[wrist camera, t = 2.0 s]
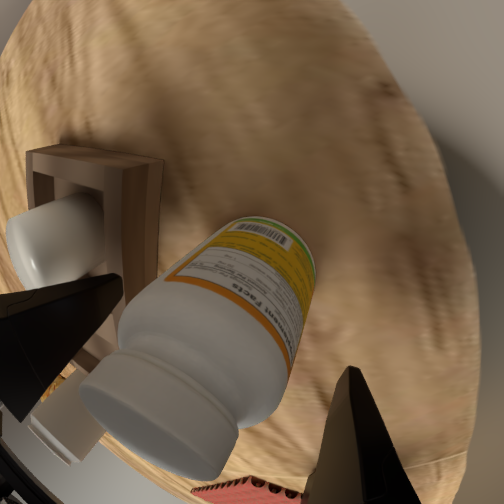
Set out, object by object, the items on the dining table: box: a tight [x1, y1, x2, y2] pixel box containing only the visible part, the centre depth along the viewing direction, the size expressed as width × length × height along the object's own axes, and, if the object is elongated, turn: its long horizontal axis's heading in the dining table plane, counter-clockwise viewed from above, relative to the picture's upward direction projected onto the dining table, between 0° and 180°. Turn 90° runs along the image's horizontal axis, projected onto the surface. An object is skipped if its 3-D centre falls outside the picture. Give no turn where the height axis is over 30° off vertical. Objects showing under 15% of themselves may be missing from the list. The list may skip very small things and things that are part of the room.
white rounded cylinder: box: [6, 192, 106, 290], centre depth 13 cm, size 5×5×5 cm
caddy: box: [26, 144, 164, 376], centre depth 17 cm, size 10×20×3 cm, turn 169°
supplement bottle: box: [79, 216, 316, 481], centre depth 9 cm, size 5×5×10 cm
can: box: [28, 369, 106, 466], centre depth 22 cm, size 8×8×12 cm
